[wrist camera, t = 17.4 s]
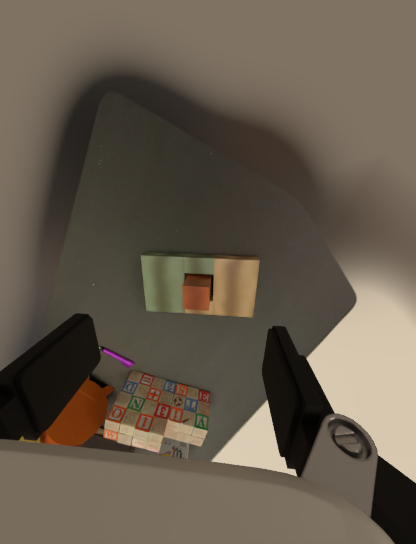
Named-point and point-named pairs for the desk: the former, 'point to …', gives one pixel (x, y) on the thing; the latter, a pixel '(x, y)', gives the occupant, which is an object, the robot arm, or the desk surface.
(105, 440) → the hardcover book
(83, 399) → the alarm clock
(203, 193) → the desk surface
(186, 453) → the ink box
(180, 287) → the green and tan board
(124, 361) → the purple and yellow rod
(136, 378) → the stack of blocks
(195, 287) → the reddish brown rectangular block
